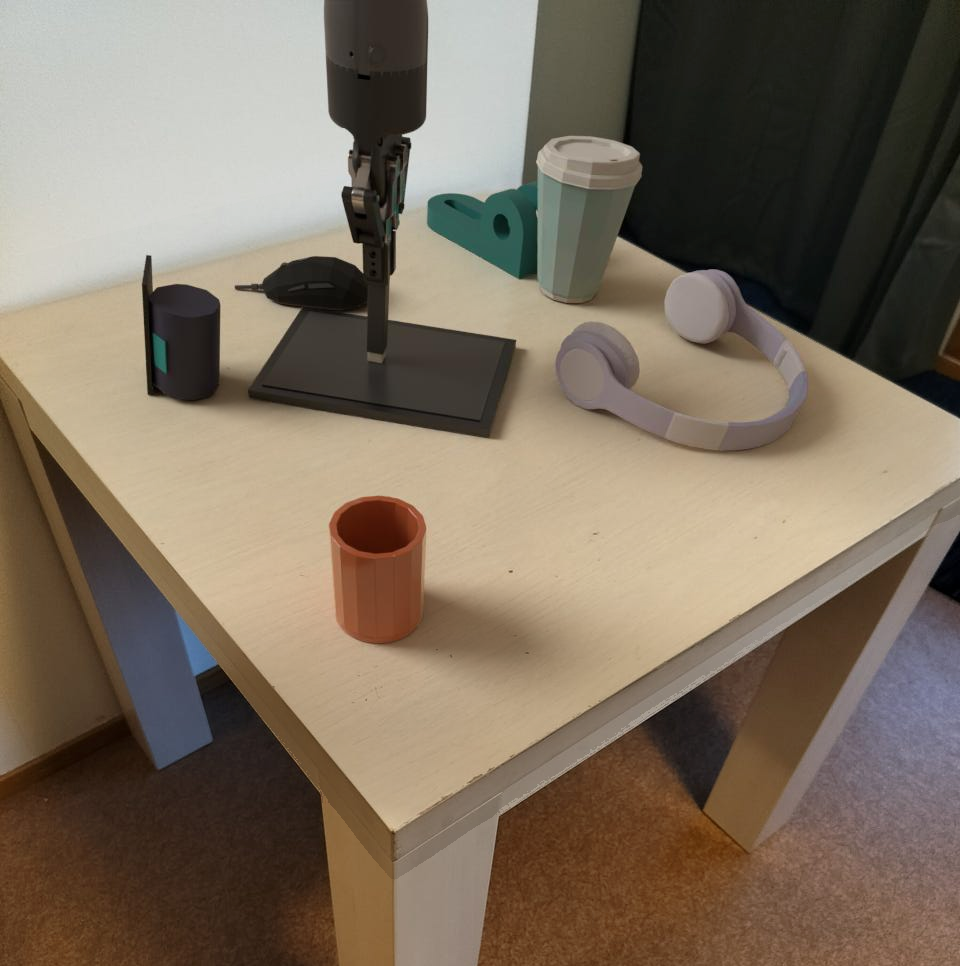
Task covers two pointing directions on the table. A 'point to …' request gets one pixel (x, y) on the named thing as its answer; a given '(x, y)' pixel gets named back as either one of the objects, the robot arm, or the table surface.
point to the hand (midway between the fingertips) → (379, 277)
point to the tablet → (388, 372)
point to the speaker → (180, 338)
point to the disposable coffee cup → (581, 211)
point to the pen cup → (378, 568)
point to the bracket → (492, 226)
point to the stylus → (378, 319)
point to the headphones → (698, 318)
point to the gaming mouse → (315, 284)
